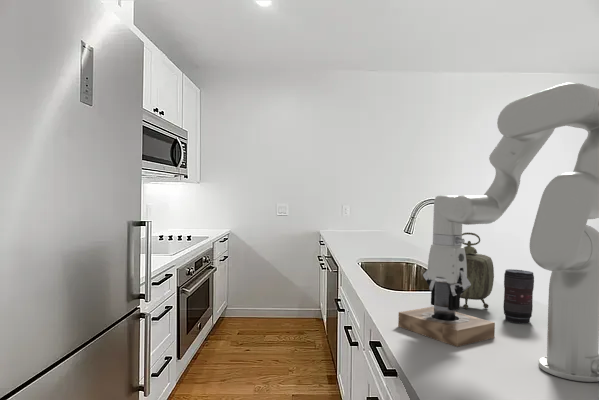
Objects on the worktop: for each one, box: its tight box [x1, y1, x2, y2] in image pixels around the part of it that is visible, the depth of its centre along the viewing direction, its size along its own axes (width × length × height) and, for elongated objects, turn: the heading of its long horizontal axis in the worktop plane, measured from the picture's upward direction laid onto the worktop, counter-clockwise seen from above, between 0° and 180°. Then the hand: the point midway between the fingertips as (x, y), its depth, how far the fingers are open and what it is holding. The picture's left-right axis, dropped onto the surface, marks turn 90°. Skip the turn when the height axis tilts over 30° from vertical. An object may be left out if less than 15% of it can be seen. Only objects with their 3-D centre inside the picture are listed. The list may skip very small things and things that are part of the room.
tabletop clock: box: [460, 232, 495, 310], centre depth 156 cm, size 14×9×25 cm, turn 57°
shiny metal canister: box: [433, 277, 457, 321], centre depth 128 cm, size 6×6×12 cm
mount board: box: [397, 306, 496, 348], centre depth 128 cm, size 20×15×4 cm
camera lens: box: [503, 268, 535, 325], centre depth 141 cm, size 8×8×15 cm
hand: (444, 306), depth 128 cm, fingers closed on shiny metal canister, 5 cm apart
